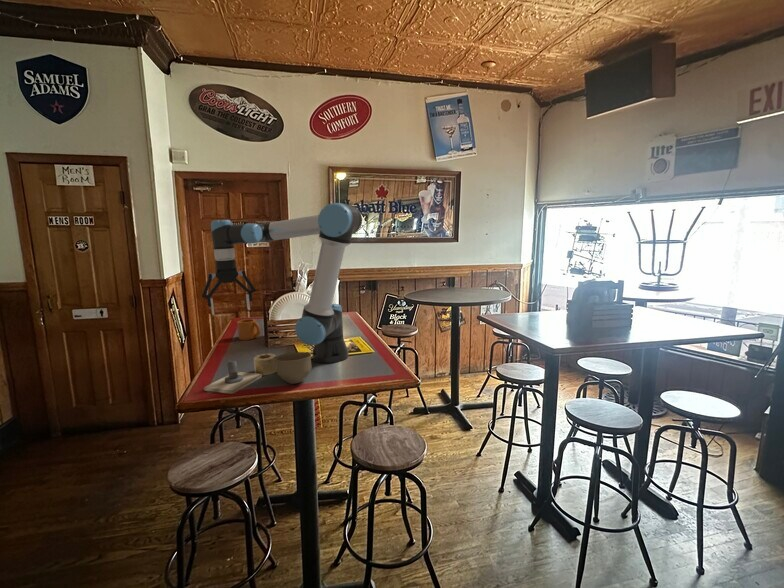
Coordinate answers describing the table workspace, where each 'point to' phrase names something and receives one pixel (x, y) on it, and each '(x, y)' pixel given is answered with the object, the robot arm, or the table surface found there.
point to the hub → (232, 380)
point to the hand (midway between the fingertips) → (231, 312)
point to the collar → (265, 364)
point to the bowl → (293, 366)
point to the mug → (248, 329)
